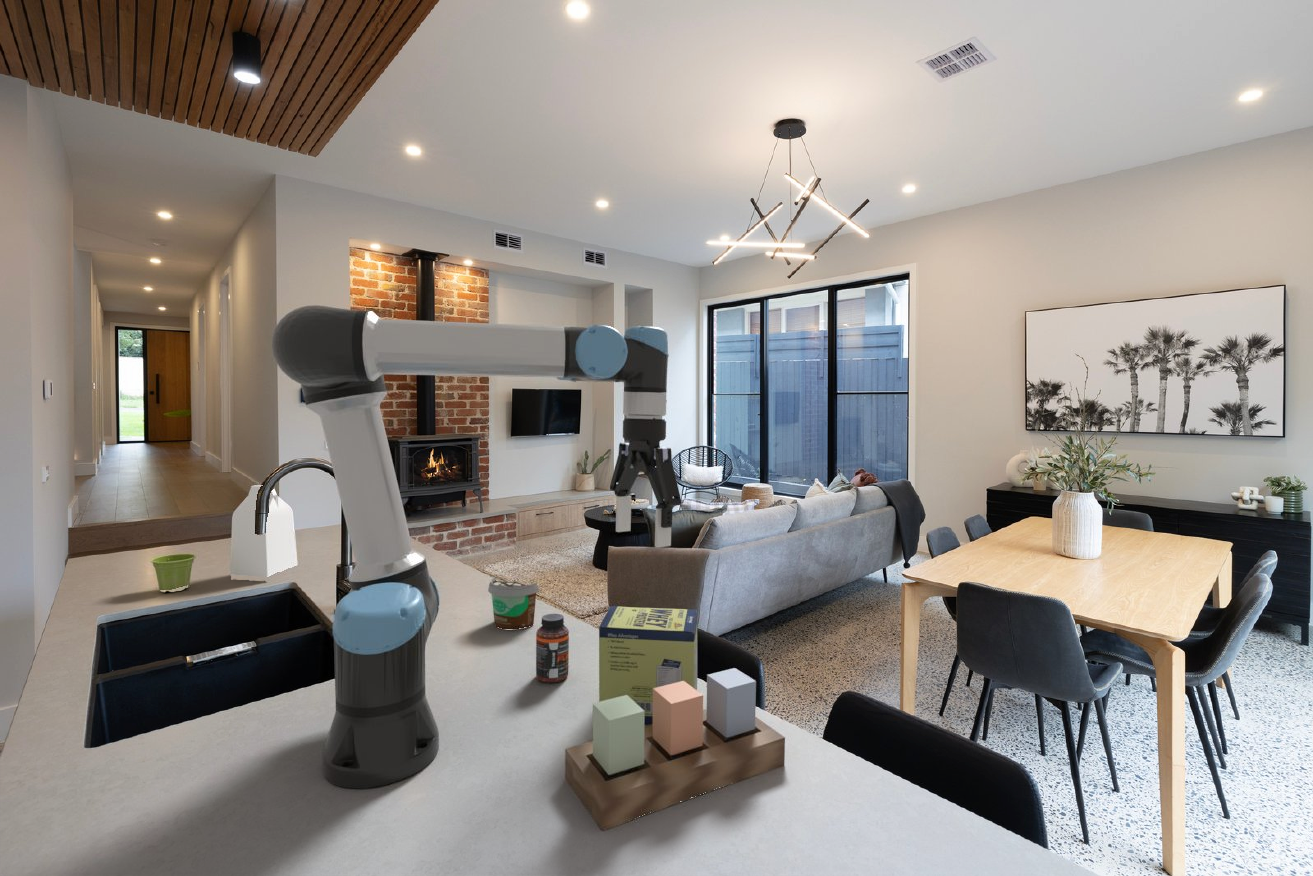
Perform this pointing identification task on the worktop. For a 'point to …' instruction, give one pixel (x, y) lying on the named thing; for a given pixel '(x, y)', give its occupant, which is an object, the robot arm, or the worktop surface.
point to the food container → (513, 604)
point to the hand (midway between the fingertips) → (641, 538)
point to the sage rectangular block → (618, 734)
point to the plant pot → (173, 570)
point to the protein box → (646, 653)
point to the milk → (262, 538)
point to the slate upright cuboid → (731, 702)
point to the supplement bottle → (552, 649)
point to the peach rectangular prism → (677, 717)
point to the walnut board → (670, 772)
